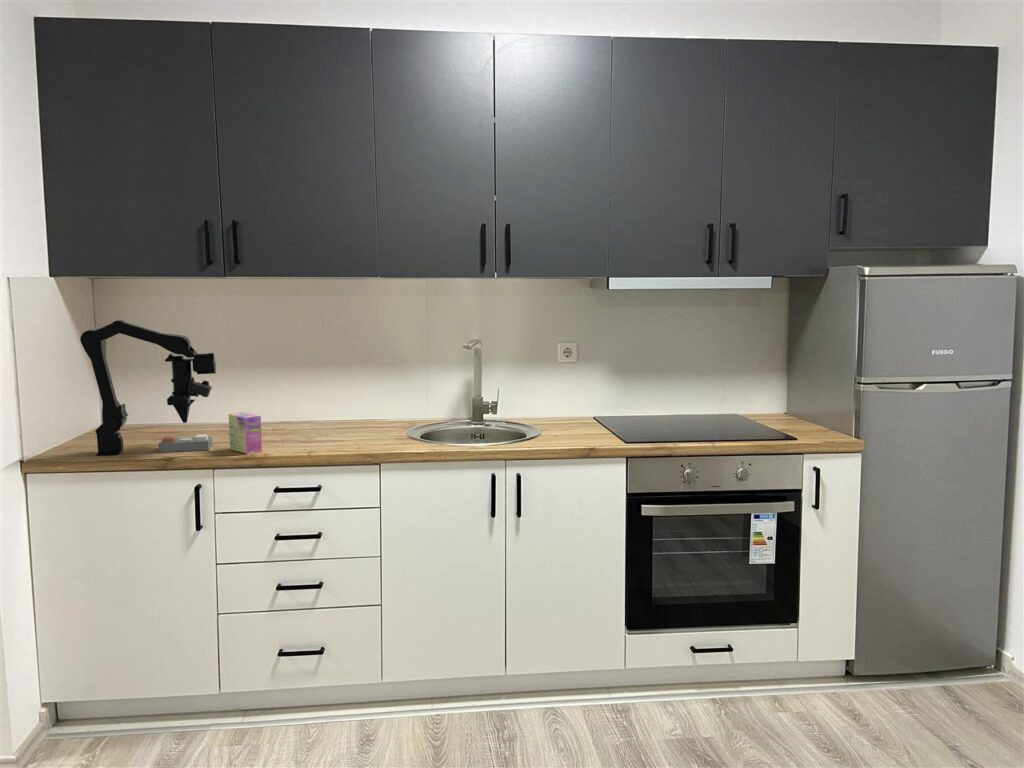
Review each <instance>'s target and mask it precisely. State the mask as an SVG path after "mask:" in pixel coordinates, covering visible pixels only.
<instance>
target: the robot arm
mask: <svg viewBox="0 0 1024 768" xmlns="http://www.w3.org/2000/svg"><path fill="white" fill-rule="evenodd" d="M118 334H121V335H124V336H128V337H132V338H134V339H138V340H141V341H144V342H148V343H150V344H155V345H157V346H159V347H161V348H163V349H165V350H166V351H168V352H169V354H168V356H167V357H166V358H165V359H164V362H165V363H166V362H167V363H168V362H171V372H172V373H171V374H172V378H171V379H170V381H171V383H172V388H173V391H172V392H171V395H170V396H168V398H167V399H166V402H167V403H166V404H167V406H173V407H174V409H175V411H176V413H177V414H178V416H179V418H180V419H181V422H182V423H183V424H186V423H188V418H189V414H190V409H191V406H192V404H193V403H194V402H195V401H196V399H192V398H191V397H195V398H198V397H199V396H201V397H203V398H208V397H210V394H211V391H212V388H213V387H212V385H210V381H208V380H205V379H204V380H203V381H202V382H199V381H198V382H197V381H195V377H193V374H192V371H193V372H195V373H196V375H212V374H213V375H215V374H216V373H217V362H216V359H215V352H207V353H198V352H197V351H196V350H195V349H194V348H193V347H192V346H191V345H192V344H191V340H190V339H189V338H188V336H185V335H182V334H176V333H175V334H173V333H164V332H163V333H162V332H159V331H157V330H153V329H149V328H146V327H144V326H140V325H136V324H133V323H129V322H127V321H125V320H123V319H118V320H114V321H113V322H112V323H109V324H108V325H104V326H103V327H101V328H92V329H89V330H84V332H82V333H81V335H80V338H79V340H80V341H79V342H80V344H81V346H82V348H83V350H84V352H85V353H86V355H87V357H88V358H89V359H90V362H91V365H92V369H93V373H94V376H95V381H96V383H97V388H98V391H99V396H100V400H101V403H102V407H101V418H102V419H101V421H102V423H101V424H100V425H99V426H98V427H97V428H96V429H95V430H94V432H95V435H96V442H97V443H96V444H97V453H96V455H95V456H108V455H109V456H111V455H115V456H116V455H119V454H121V453H122V452H123V451H124V449H125V447H124V438H123V436H121V435H122V434H121V432H120V430H121V428H122V427H123V426H124V425H125V424H126V422H127V418H128V416H129V414H128V412H127V411H126V410H127V409H126V403H122V404H121V403H120V401H119V400H118V399H117V395H116V392H115V387H114V383H113V379H112V376H111V372H110V369H109V365H108V361H107V340H108V339H110V338H112V337H115V336H116V335H118ZM172 353H173V354H172ZM185 357H186V358H185Z"/></svg>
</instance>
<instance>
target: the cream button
mask: <svg viewBox="0 0 1024 768" xmlns="http://www.w3.org/2000/svg"><path fill="white" fill-rule="evenodd" d="M195 437H196V441H200V440H208V437H209V436H208V434H197V435H196V436H195Z"/></svg>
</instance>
